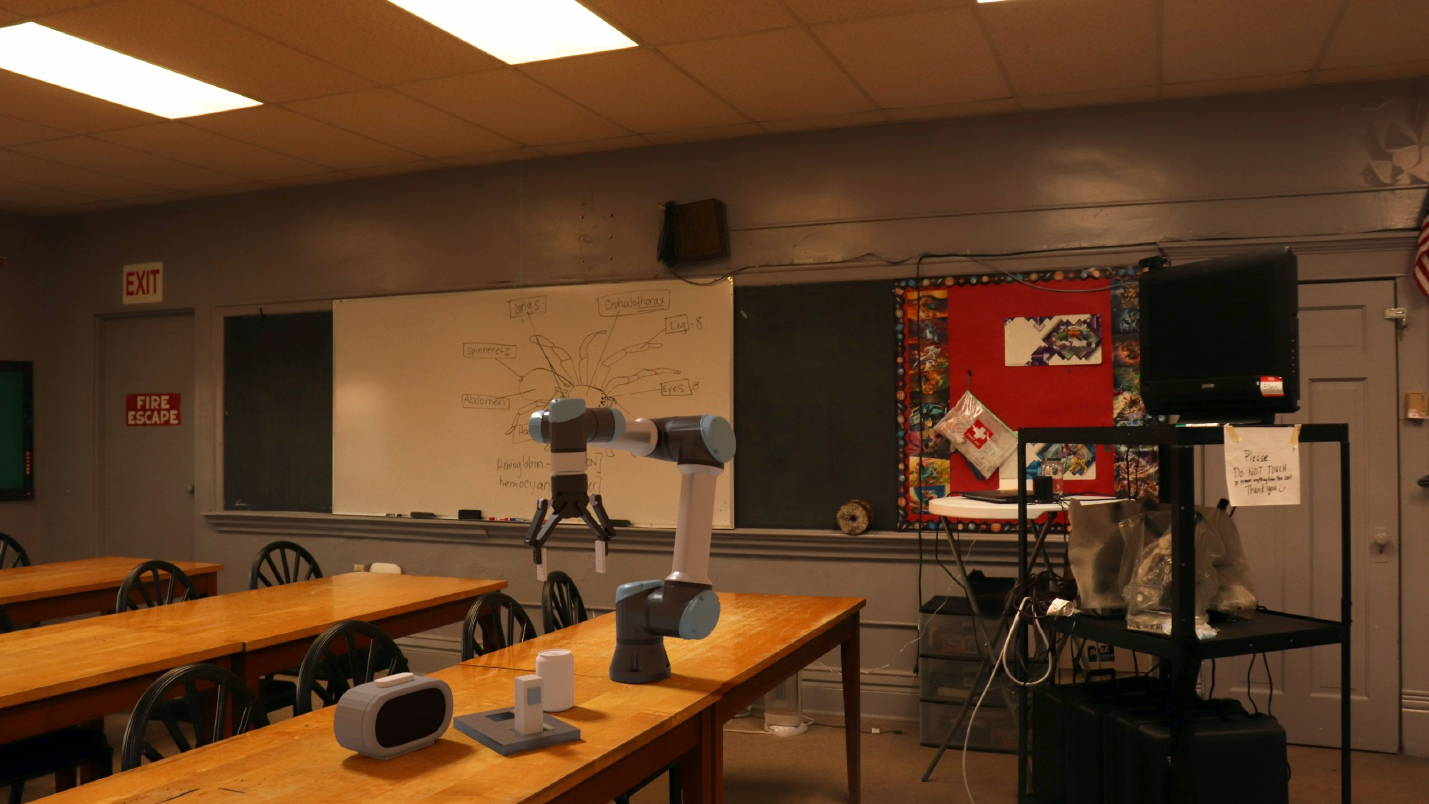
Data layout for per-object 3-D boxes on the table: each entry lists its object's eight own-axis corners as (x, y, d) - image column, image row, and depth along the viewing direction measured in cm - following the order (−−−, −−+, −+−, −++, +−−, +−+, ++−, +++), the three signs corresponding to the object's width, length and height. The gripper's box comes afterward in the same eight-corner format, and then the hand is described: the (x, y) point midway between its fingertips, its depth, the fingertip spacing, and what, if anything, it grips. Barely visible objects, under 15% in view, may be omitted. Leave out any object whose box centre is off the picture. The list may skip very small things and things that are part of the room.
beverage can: (566, 714, 209) (566, 656, 210) (530, 712, 211) (530, 655, 211) (579, 704, 217) (578, 648, 218) (544, 702, 219) (544, 647, 219)
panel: (525, 713, 210) (525, 703, 210) (580, 739, 191) (580, 728, 191) (453, 727, 200) (453, 716, 200) (503, 756, 181) (503, 744, 181)
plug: (533, 736, 193) (533, 674, 194) (544, 741, 190) (544, 678, 190) (514, 739, 191) (514, 677, 192) (525, 745, 187) (525, 681, 188)
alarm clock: (367, 768, 175) (368, 692, 176) (333, 760, 180) (333, 685, 181) (455, 738, 193) (455, 669, 193) (421, 731, 198) (421, 664, 198)
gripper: (612, 469, 214) (614, 567, 214) (505, 476, 199) (508, 581, 199) (630, 470, 208) (633, 571, 208) (521, 477, 193) (524, 586, 193)
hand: (572, 576), depth 203 cm, fingers open, 13 cm apart
